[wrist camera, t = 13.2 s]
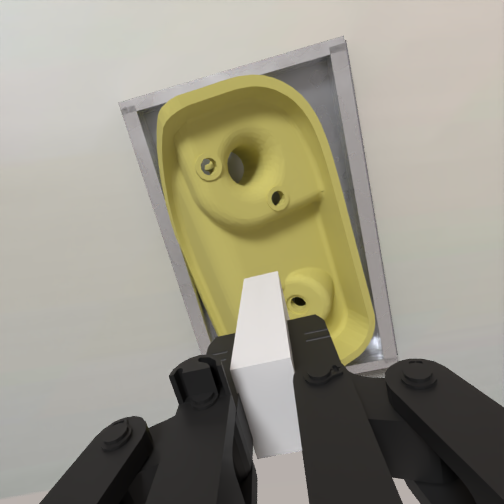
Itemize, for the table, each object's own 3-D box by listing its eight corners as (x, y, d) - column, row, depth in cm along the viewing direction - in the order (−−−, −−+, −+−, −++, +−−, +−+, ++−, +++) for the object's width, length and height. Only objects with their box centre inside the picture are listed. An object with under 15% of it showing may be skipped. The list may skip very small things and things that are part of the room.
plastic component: (381, 340, 25) (269, 417, 22) (322, 309, 31) (230, 364, 28) (306, 55, 19) (136, 106, 16) (253, 91, 25) (126, 132, 22)
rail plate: (215, 383, 30) (211, 402, 28) (125, 109, 24) (110, 103, 22) (393, 348, 29) (405, 365, 26) (342, 45, 23) (351, 31, 20)
